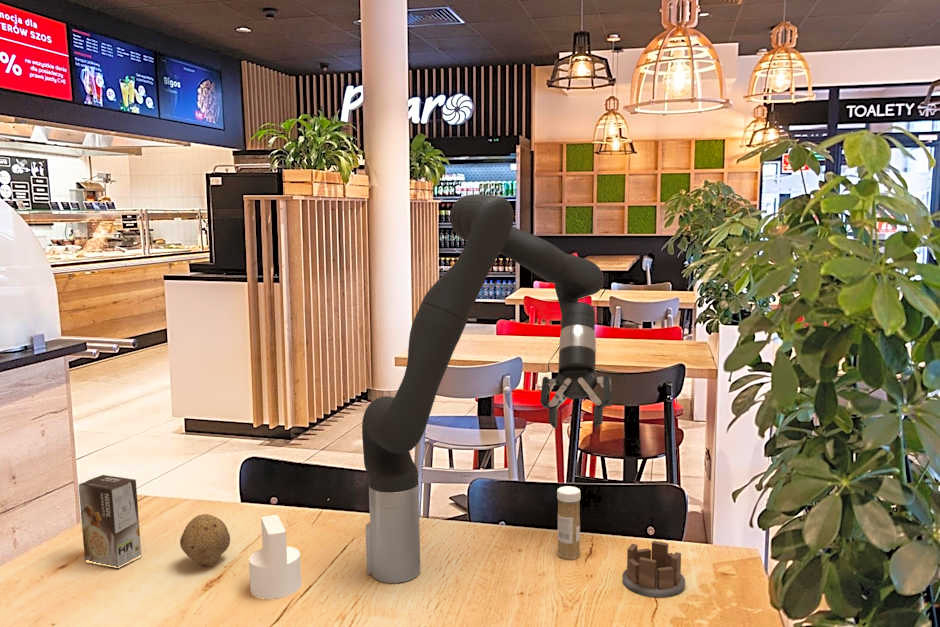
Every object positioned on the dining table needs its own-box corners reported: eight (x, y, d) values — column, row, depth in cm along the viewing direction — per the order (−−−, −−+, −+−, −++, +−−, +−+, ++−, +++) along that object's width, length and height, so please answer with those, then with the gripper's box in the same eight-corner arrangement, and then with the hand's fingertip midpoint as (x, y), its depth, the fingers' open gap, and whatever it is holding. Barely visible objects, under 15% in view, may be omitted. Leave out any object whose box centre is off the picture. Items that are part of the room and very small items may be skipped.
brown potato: (171, 571, 148) (167, 521, 147) (199, 552, 157) (196, 504, 155) (212, 577, 146) (209, 526, 145) (239, 557, 154) (236, 508, 153)
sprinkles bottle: (585, 556, 153) (585, 490, 151) (567, 562, 150) (567, 494, 148) (569, 548, 156) (570, 483, 155) (552, 553, 154) (552, 488, 152)
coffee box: (143, 557, 155) (138, 479, 153) (118, 570, 149) (112, 489, 147) (108, 550, 158) (103, 473, 156) (82, 563, 153) (76, 483, 151)
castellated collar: (614, 589, 139) (614, 556, 138) (633, 564, 148) (633, 534, 148) (676, 602, 134) (677, 569, 133) (691, 576, 143) (692, 545, 142)
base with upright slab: (247, 582, 144) (244, 519, 142) (296, 573, 147) (293, 511, 146) (254, 603, 135) (250, 537, 134) (305, 593, 139) (303, 529, 137)
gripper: (539, 346, 161) (535, 421, 153) (608, 342, 156) (608, 419, 149) (548, 360, 167) (545, 433, 160) (614, 356, 162) (614, 431, 155)
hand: (575, 426), depth 154 cm, fingers open, 8 cm apart
